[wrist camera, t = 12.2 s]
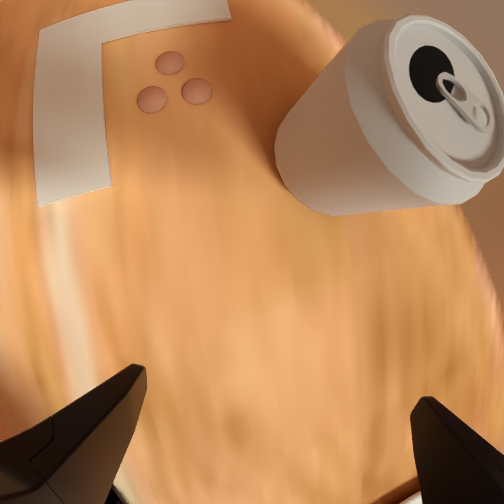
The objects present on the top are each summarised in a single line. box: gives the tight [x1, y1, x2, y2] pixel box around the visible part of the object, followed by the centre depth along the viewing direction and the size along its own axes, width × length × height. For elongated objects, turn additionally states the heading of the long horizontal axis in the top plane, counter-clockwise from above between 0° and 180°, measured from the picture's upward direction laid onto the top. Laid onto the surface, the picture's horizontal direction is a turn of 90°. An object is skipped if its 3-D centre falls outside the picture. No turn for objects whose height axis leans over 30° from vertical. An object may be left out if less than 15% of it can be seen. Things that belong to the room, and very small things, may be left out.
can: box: [274, 14, 504, 216], centre depth 13 cm, size 8×8×12 cm
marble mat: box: [33, 0, 232, 207], centre depth 17 cm, size 14×14×1 cm
